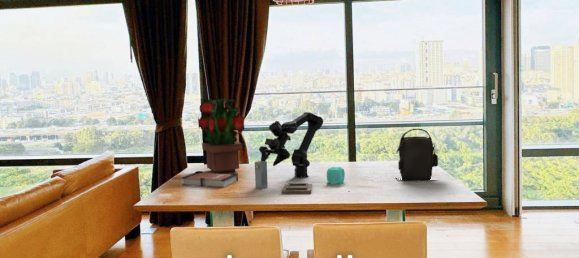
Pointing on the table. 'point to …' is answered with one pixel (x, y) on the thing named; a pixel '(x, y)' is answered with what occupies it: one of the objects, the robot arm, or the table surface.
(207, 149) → the potted plant
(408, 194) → the table surface
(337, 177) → the decorative dice
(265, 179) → the block
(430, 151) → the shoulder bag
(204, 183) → the book
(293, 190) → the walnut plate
